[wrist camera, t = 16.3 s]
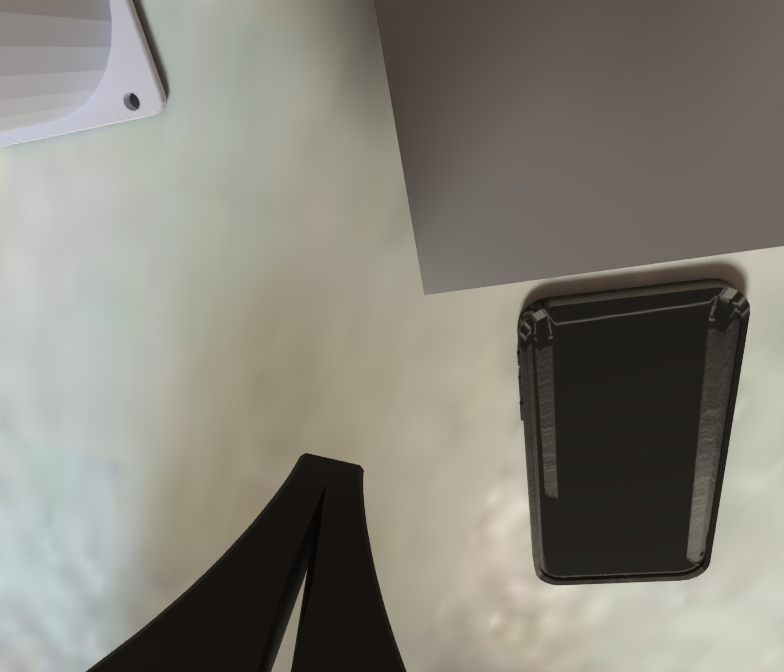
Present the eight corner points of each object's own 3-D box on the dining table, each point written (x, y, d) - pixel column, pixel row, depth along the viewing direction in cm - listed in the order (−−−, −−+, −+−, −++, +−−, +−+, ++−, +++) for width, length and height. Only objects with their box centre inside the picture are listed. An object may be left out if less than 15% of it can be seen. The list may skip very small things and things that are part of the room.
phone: (754, 282, 18) (707, 580, 24) (738, 270, 19) (697, 559, 25) (514, 310, 19) (533, 587, 26) (511, 297, 20) (530, 567, 27)
